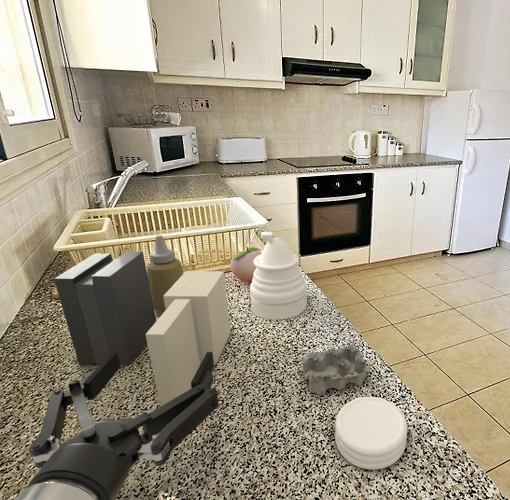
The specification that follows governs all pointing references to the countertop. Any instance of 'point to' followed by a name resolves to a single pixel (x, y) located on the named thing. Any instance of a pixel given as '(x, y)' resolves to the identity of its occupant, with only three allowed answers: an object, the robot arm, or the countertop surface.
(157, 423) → the robot arm
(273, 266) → the honey pot
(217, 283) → the white books
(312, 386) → the egg carton
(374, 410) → the white jar lid
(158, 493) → the countertop surface
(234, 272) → the decorative fruit
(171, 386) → the thin white book
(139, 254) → the grey books
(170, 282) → the squeeze bottle
